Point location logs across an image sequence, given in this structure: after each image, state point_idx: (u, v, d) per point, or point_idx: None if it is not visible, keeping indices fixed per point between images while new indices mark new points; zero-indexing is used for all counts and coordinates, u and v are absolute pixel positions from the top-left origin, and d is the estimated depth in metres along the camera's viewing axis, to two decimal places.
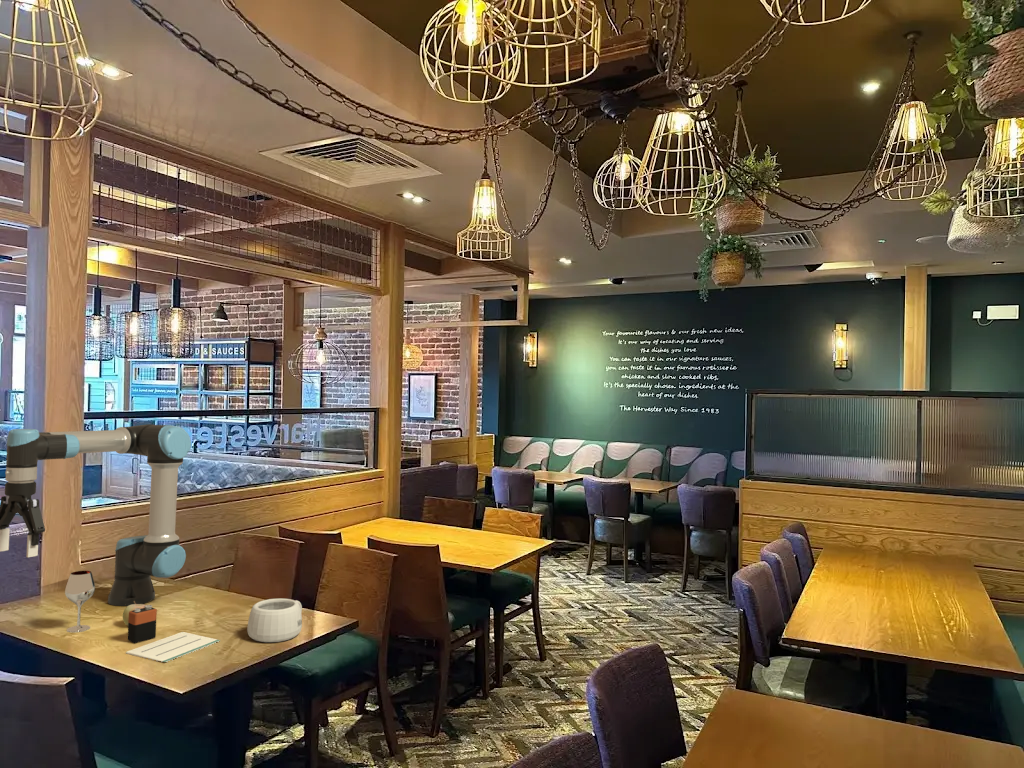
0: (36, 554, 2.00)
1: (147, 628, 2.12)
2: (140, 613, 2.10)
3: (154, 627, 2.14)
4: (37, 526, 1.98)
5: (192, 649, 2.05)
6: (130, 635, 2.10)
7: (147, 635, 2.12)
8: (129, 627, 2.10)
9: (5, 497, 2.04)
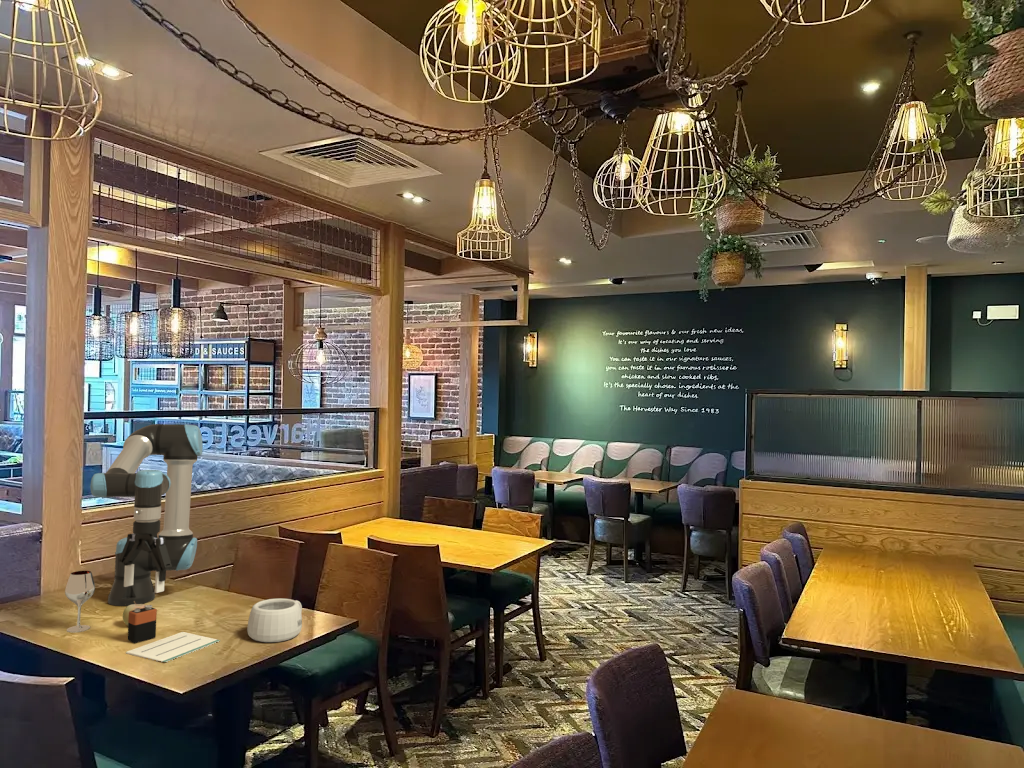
0: (163, 589, 2.11)
1: (147, 628, 2.12)
2: (140, 613, 2.10)
3: (154, 627, 2.14)
4: (165, 563, 2.09)
5: (192, 649, 2.05)
6: (130, 635, 2.10)
7: (147, 635, 2.12)
8: (129, 627, 2.10)
9: (131, 535, 2.15)
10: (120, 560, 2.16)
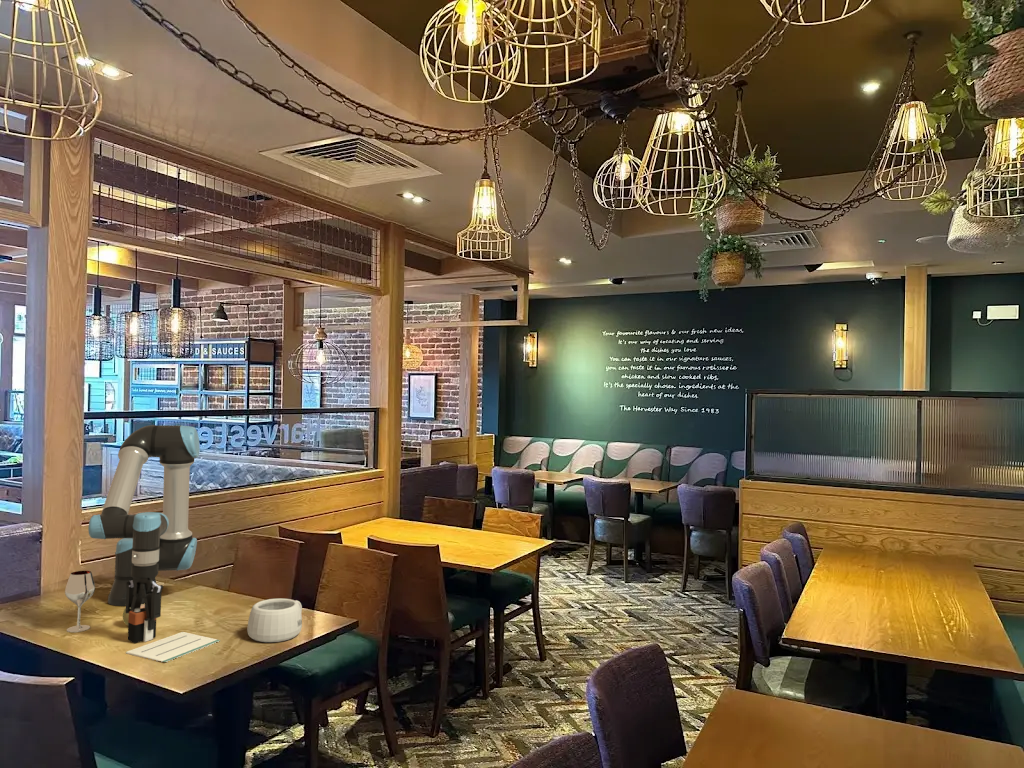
0: (152, 638, 2.12)
1: None
2: (140, 613, 2.10)
3: (154, 627, 2.14)
4: (155, 613, 2.10)
5: (192, 649, 2.05)
6: (130, 635, 2.10)
7: None
8: (129, 627, 2.10)
9: (129, 581, 2.15)
10: (127, 611, 2.14)
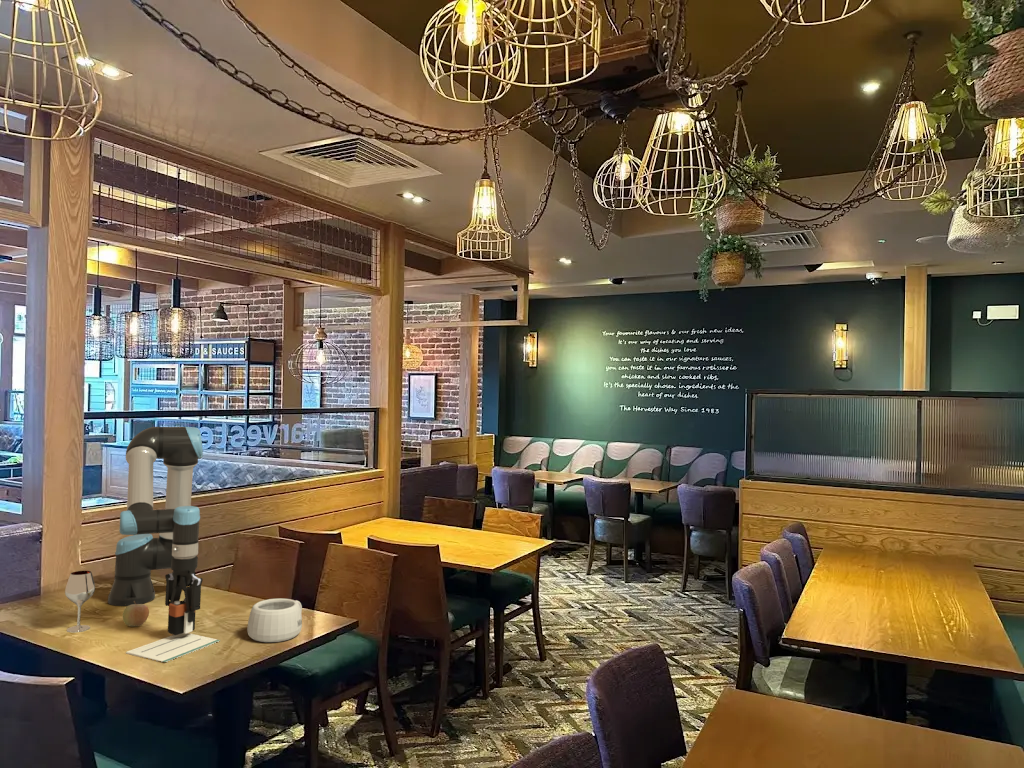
0: (191, 630, 2.15)
1: None
2: (180, 605, 2.13)
3: None
4: (195, 605, 2.13)
5: (192, 649, 2.05)
6: (170, 627, 2.13)
7: None
8: (169, 619, 2.13)
9: (168, 574, 2.17)
10: (166, 603, 2.17)
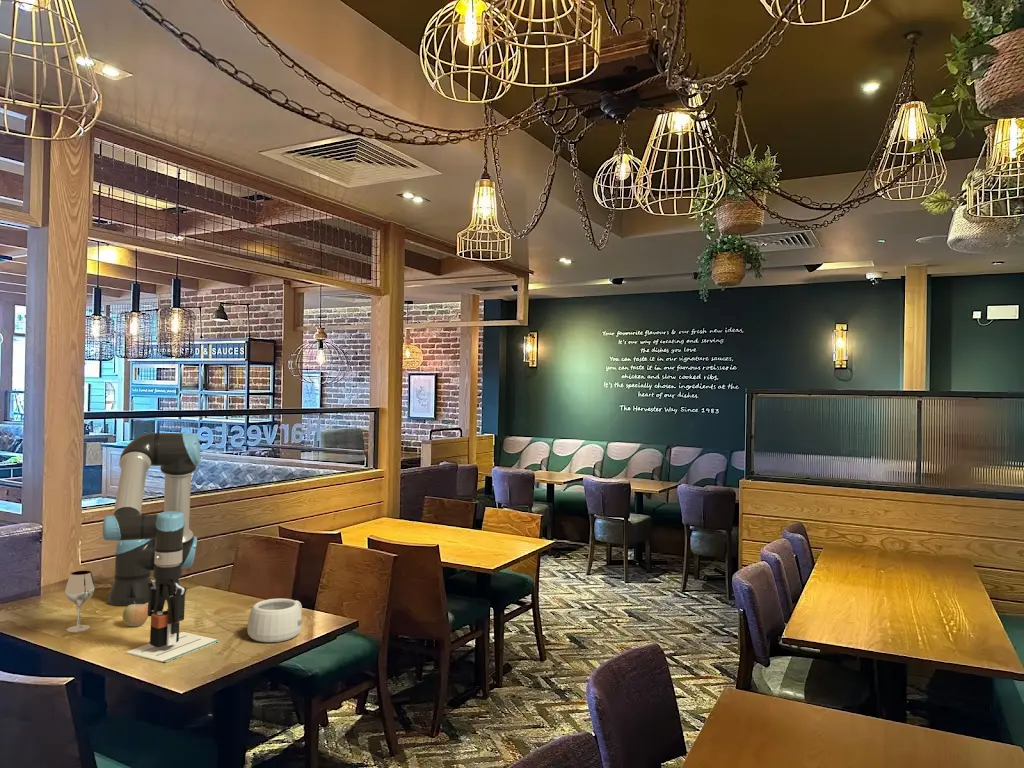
0: (175, 641, 2.05)
1: None
2: (163, 616, 2.02)
3: None
4: (179, 616, 2.02)
5: (192, 649, 2.05)
6: (152, 639, 2.02)
7: None
8: (152, 630, 2.03)
9: (151, 583, 2.07)
10: (149, 614, 2.06)
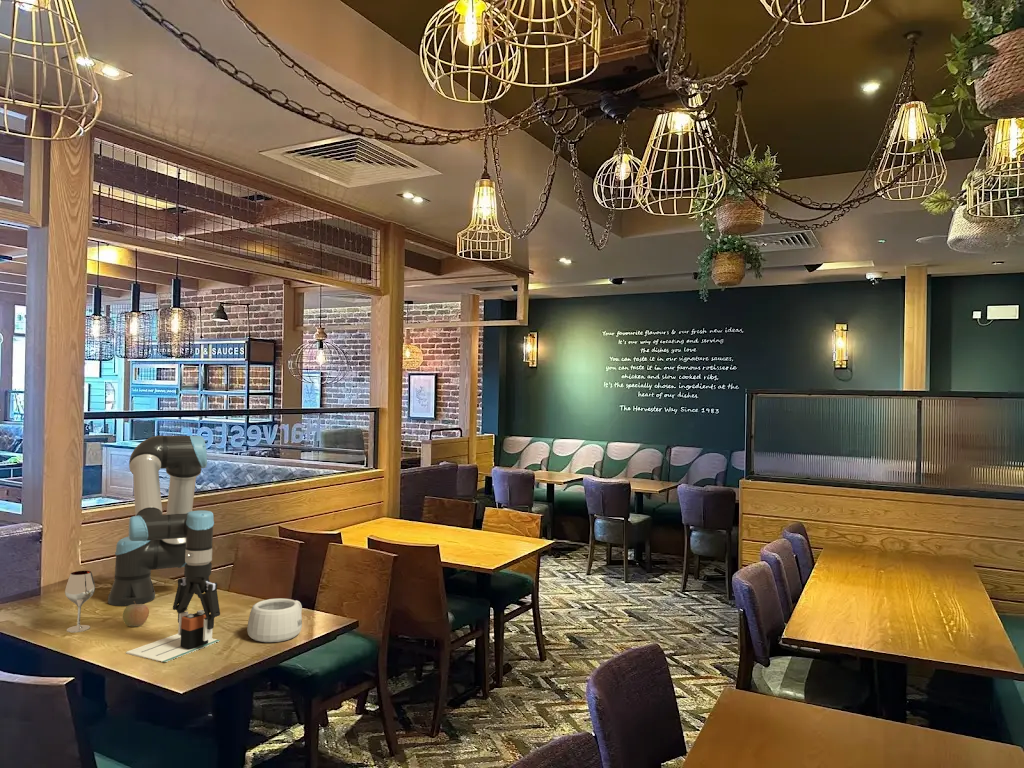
0: (211, 637, 2.07)
1: (200, 634, 2.07)
2: (194, 618, 2.06)
3: None
4: (214, 611, 2.04)
5: (192, 649, 2.05)
6: (183, 641, 2.05)
7: (200, 640, 2.07)
8: (182, 633, 2.06)
9: (181, 579, 2.10)
10: (174, 607, 2.10)
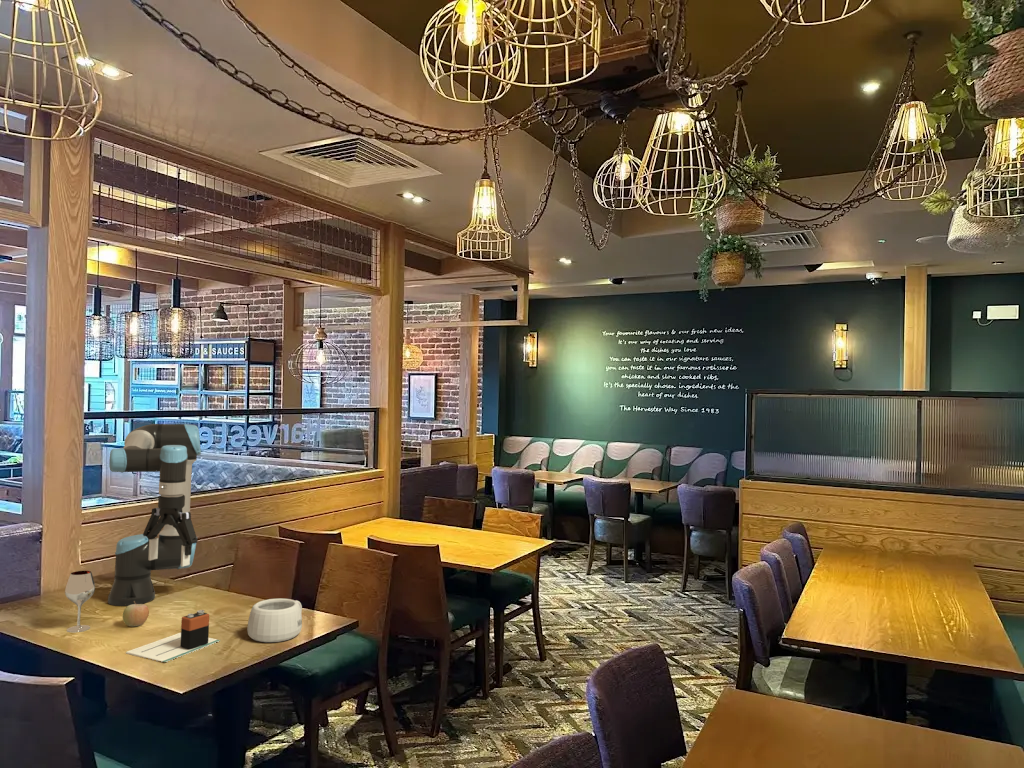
0: (188, 563, 2.13)
1: (200, 634, 2.07)
2: (194, 618, 2.06)
3: (207, 632, 2.09)
4: (191, 537, 2.11)
5: (192, 649, 2.05)
6: (183, 641, 2.05)
7: (200, 640, 2.07)
8: (182, 633, 2.06)
9: (155, 509, 2.16)
10: (144, 534, 2.17)
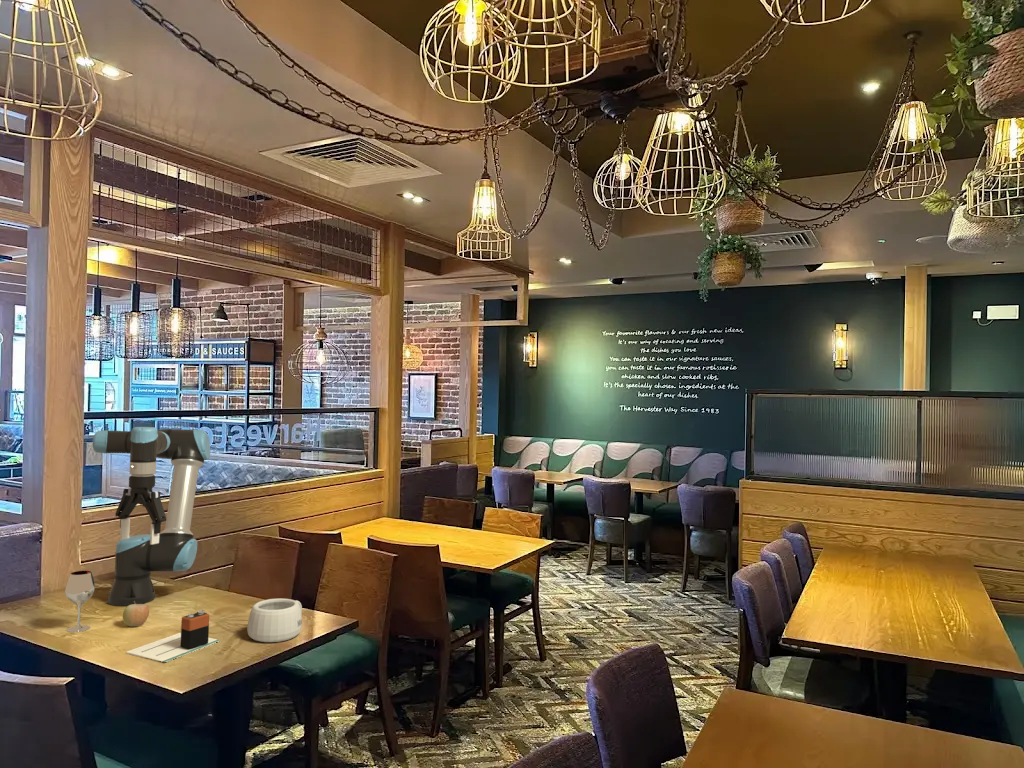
0: (158, 541, 2.18)
1: (200, 634, 2.07)
2: (194, 618, 2.06)
3: (207, 632, 2.09)
4: (160, 516, 2.16)
5: (192, 649, 2.05)
6: (183, 641, 2.05)
7: (200, 640, 2.07)
8: (182, 633, 2.06)
9: (127, 489, 2.22)
10: (116, 514, 2.23)
